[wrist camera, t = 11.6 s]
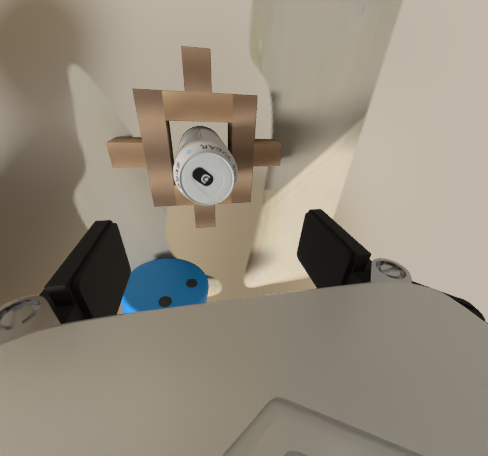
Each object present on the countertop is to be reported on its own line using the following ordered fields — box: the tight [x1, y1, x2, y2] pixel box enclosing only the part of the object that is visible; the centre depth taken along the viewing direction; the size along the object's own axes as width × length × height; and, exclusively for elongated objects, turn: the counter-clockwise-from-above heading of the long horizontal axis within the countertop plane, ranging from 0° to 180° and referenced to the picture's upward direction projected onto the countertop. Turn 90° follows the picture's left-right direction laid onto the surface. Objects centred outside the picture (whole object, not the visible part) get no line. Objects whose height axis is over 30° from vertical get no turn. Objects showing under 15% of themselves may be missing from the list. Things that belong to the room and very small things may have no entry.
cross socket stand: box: [106, 46, 282, 228], centre depth 30 cm, size 22×22×4 cm
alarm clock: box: [122, 258, 209, 314], centre depth 35 cm, size 13×6×15 cm, turn 79°
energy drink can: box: [173, 126, 238, 206], centre depth 25 cm, size 6×6×15 cm
